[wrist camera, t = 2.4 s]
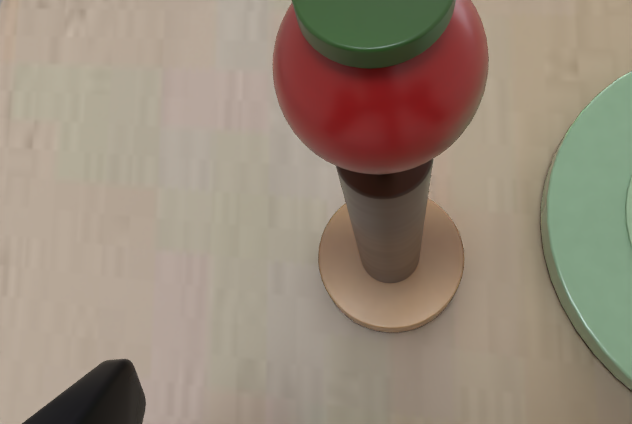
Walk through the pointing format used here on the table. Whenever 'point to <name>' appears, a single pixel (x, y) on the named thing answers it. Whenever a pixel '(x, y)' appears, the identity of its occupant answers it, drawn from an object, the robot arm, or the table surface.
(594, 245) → the plate
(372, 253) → the strawberry fork
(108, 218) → the table surface
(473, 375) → the table surface
